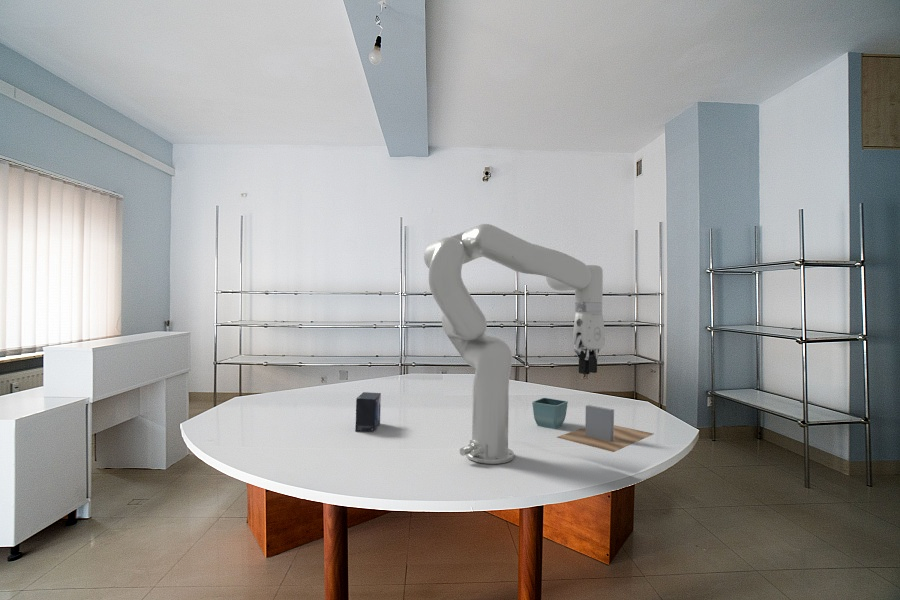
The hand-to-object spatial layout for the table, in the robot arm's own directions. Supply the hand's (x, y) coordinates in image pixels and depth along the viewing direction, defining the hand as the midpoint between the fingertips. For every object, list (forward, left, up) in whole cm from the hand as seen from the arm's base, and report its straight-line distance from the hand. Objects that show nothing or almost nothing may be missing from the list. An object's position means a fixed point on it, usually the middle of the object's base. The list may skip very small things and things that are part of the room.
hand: (587, 372), depth 133 cm
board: (+11, 0, -21) cm, 24 cm away
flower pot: (+8, +18, -22) cm, 29 cm away
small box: (-35, +58, -22) cm, 71 cm away
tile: (+7, 0, -20) cm, 21 cm away
